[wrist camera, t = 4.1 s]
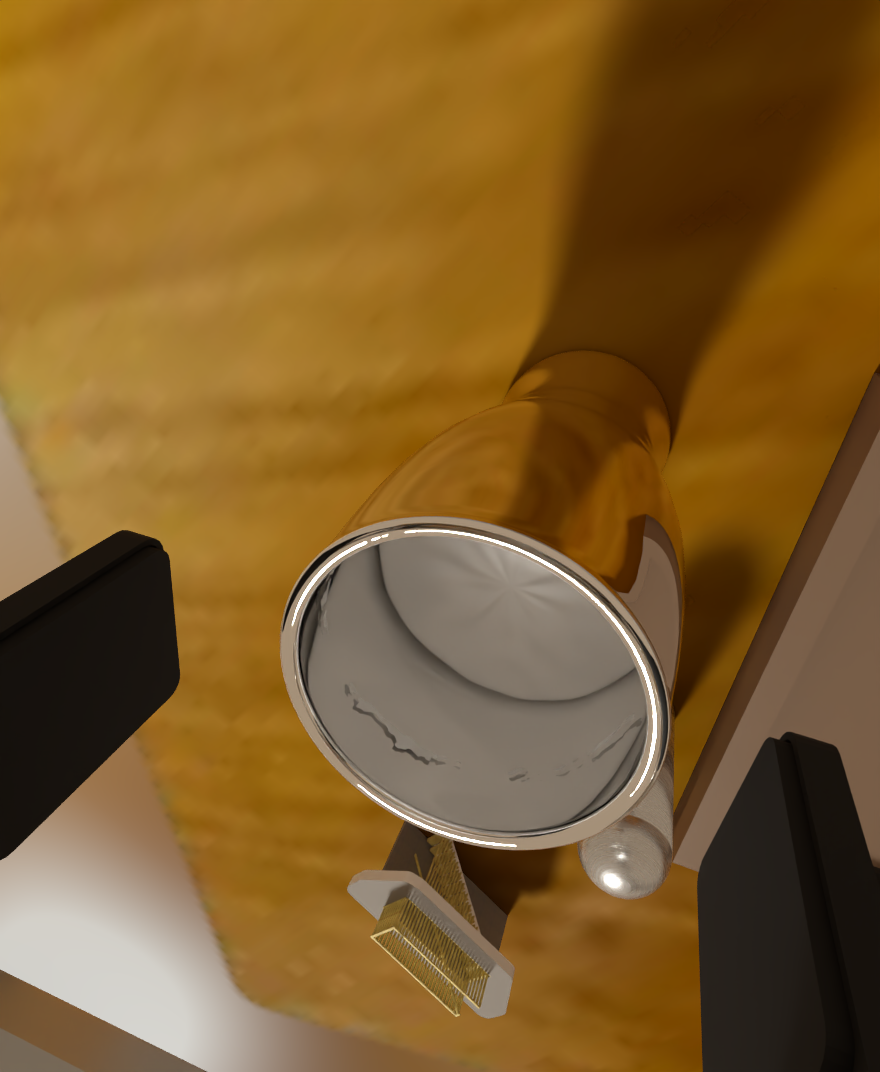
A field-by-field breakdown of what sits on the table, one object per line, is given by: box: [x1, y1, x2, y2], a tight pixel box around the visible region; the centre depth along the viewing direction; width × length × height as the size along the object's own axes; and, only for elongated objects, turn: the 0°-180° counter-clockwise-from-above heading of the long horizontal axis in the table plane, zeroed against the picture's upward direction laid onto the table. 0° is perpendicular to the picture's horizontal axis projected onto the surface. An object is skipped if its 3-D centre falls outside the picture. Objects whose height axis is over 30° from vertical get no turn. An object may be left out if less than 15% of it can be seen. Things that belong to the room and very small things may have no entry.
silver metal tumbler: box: [280, 350, 686, 850], centre depth 17 cm, size 7×7×15 cm
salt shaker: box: [577, 704, 675, 899], centre depth 24 cm, size 3×3×8 cm
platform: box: [347, 821, 515, 1018], centre depth 33 cm, size 12×18×6 cm, turn 47°
